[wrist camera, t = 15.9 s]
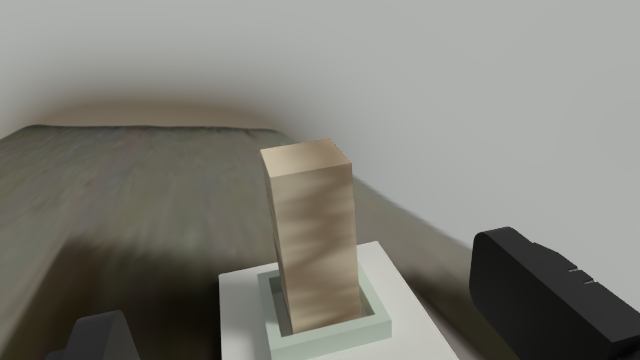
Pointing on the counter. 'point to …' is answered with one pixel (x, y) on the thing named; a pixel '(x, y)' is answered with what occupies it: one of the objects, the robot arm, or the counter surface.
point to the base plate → (335, 340)
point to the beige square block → (313, 232)
